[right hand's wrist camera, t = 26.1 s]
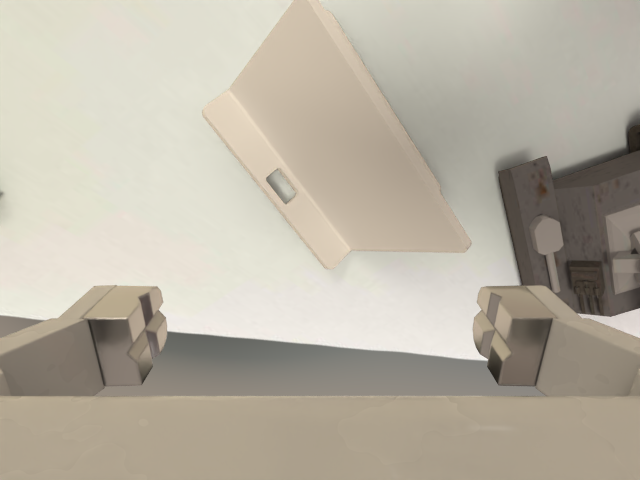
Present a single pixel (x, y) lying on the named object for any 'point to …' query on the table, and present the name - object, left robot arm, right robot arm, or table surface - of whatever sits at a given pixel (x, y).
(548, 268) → the toy
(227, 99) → the tablet stand
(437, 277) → the table surface
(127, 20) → the table surface
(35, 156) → the table surface
